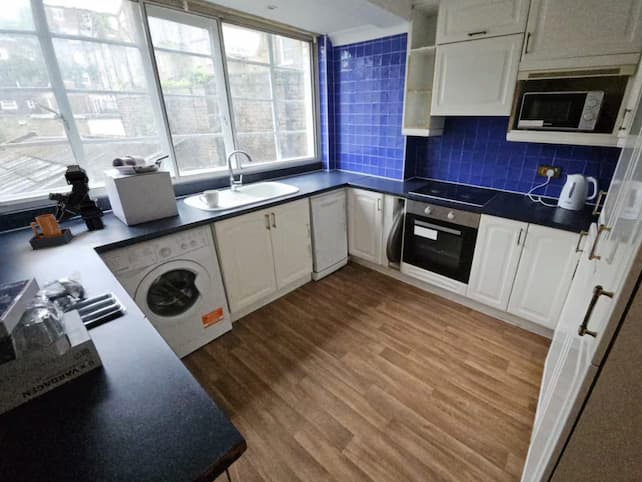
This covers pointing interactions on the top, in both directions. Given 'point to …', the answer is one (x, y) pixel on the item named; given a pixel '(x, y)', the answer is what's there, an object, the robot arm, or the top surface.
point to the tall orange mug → (47, 226)
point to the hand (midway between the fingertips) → (57, 221)
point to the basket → (51, 240)
